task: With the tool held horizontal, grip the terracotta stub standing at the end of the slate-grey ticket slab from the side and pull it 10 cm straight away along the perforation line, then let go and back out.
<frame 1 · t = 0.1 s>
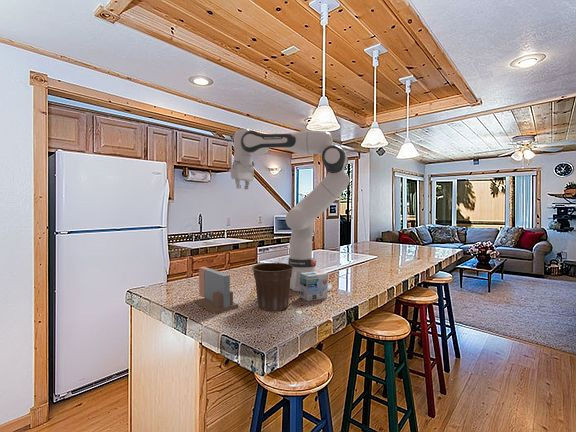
hand: (242, 189, 167), 48 cm above the table, tool pointing down, fingers open, 8 cm apart
light bulb box: (313, 298, 142), on the table
stub: (204, 282, 138), point 8 cm above the table, slide at 0.0 cm
plant pot: (272, 307, 129), on the table
ticket holder: (207, 301, 137), on the table
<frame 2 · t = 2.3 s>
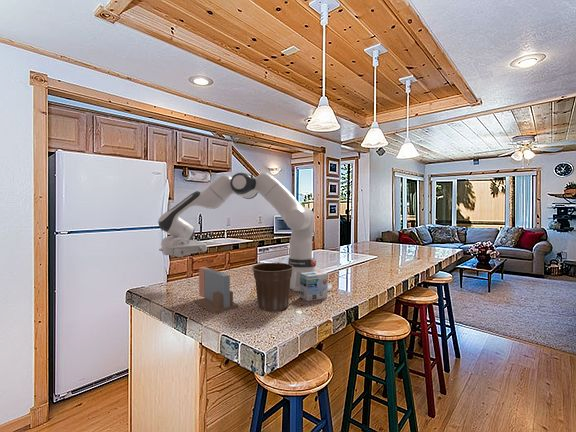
hand: (191, 250, 147), 19 cm above the table, tool horizontal, fingers open, 8 cm apart
nothing on the table moved.
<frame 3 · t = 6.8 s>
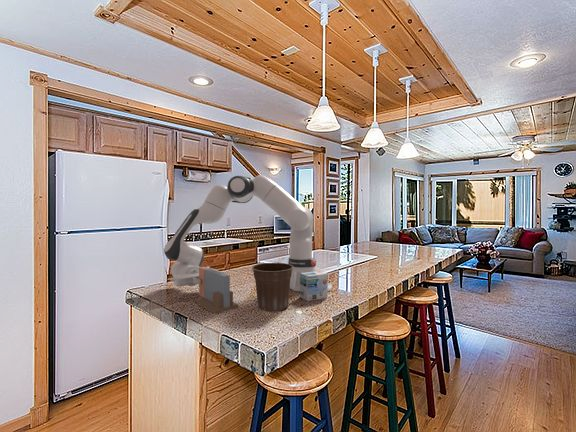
hand: (205, 281, 138), 8 cm above the table, tool horizontal, fingers closed on stub, 2 cm apart
stub: (204, 282, 138), point 8 cm above the table, slide at 0.0 cm, touching gripper
everything else where it was.
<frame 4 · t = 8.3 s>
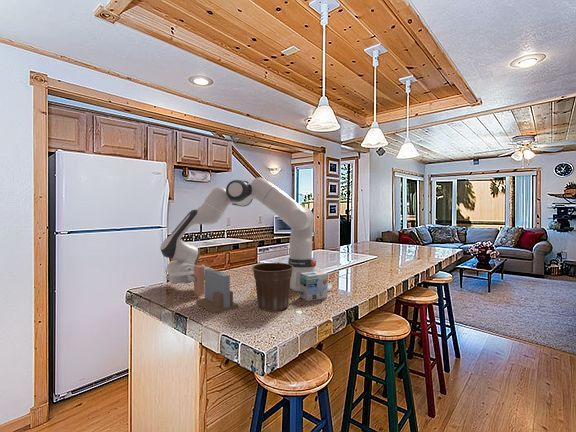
hand: (199, 278, 142), 8 cm above the table, tool horizontal, fingers closed on stub, 2 cm apart
stub: (199, 279, 142), point 8 cm above the table, slide at 5.2 cm, touching gripper
everything else where it was.
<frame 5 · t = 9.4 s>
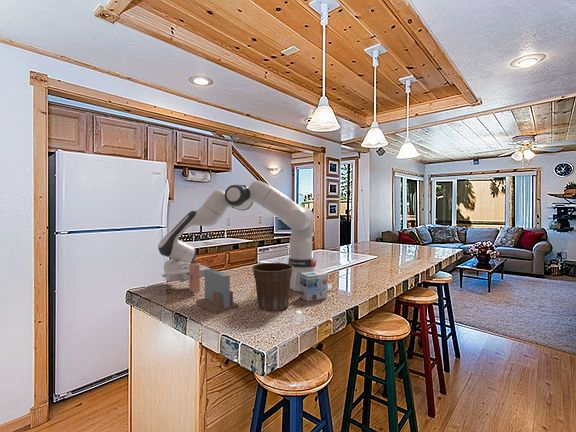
hand: (195, 276, 145), 8 cm above the table, tool horizontal, fingers closed on stub, 2 cm apart
stub: (194, 277, 146), point 8 cm above the table, slide at 9.8 cm, touching gripper
everything else where it was.
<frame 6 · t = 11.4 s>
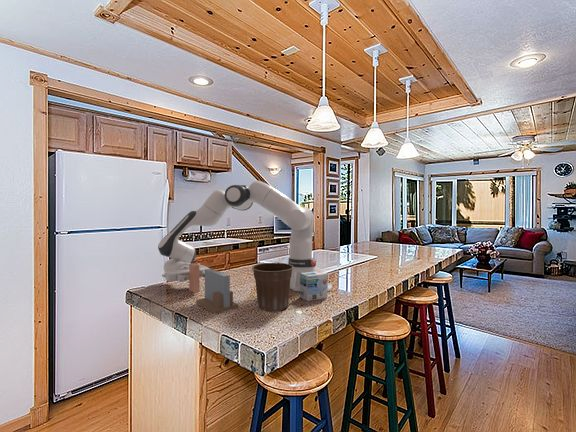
hand: (195, 276, 145), 8 cm above the table, tool horizontal, fingers open, 8 cm apart
stub: (194, 277, 146), point 8 cm above the table, slide at 10.0 cm
everything else where it was.
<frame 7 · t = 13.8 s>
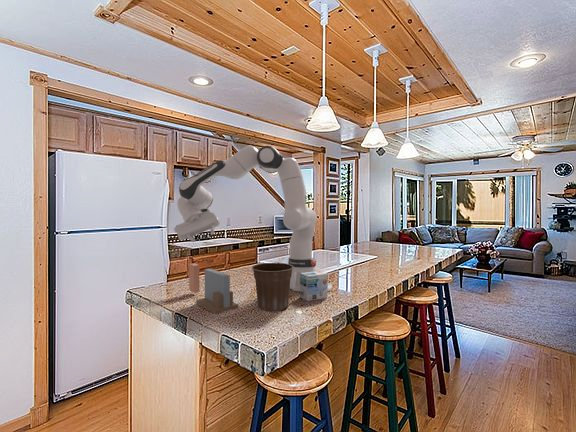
hand: (203, 236, 150), 25 cm above the table, tool tilted 55°, fingers open, 8 cm apart
nothing on the table moved.
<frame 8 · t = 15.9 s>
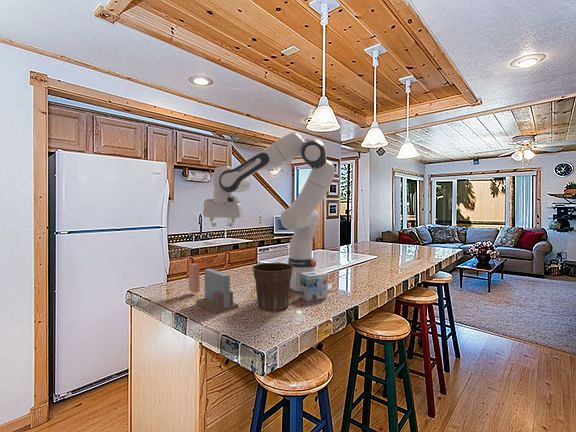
hand: (222, 226, 162), 29 cm above the table, tool pointing down, fingers open, 8 cm apart
nothing on the table moved.
at the end: stub slide at 10.0 cm; the gripper is holding nothing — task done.
